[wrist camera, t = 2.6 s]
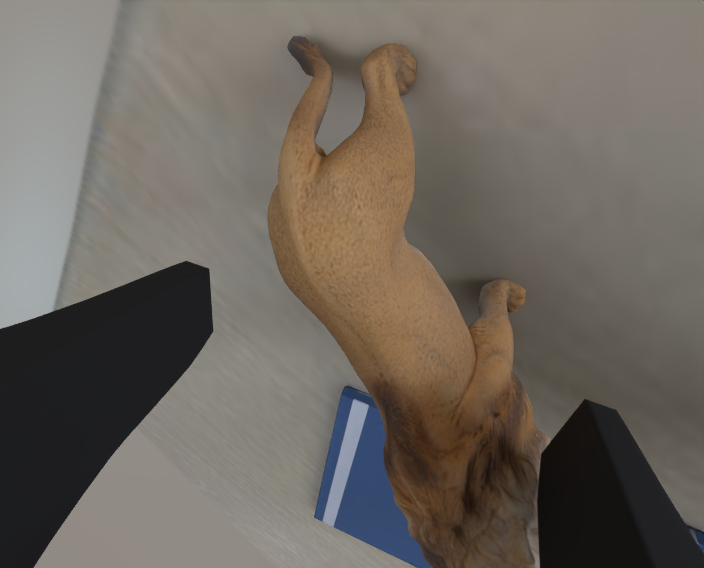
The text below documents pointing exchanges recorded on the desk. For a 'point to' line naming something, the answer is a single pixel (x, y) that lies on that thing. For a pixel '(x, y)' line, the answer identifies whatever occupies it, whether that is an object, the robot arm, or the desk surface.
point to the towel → (369, 483)
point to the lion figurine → (409, 325)
